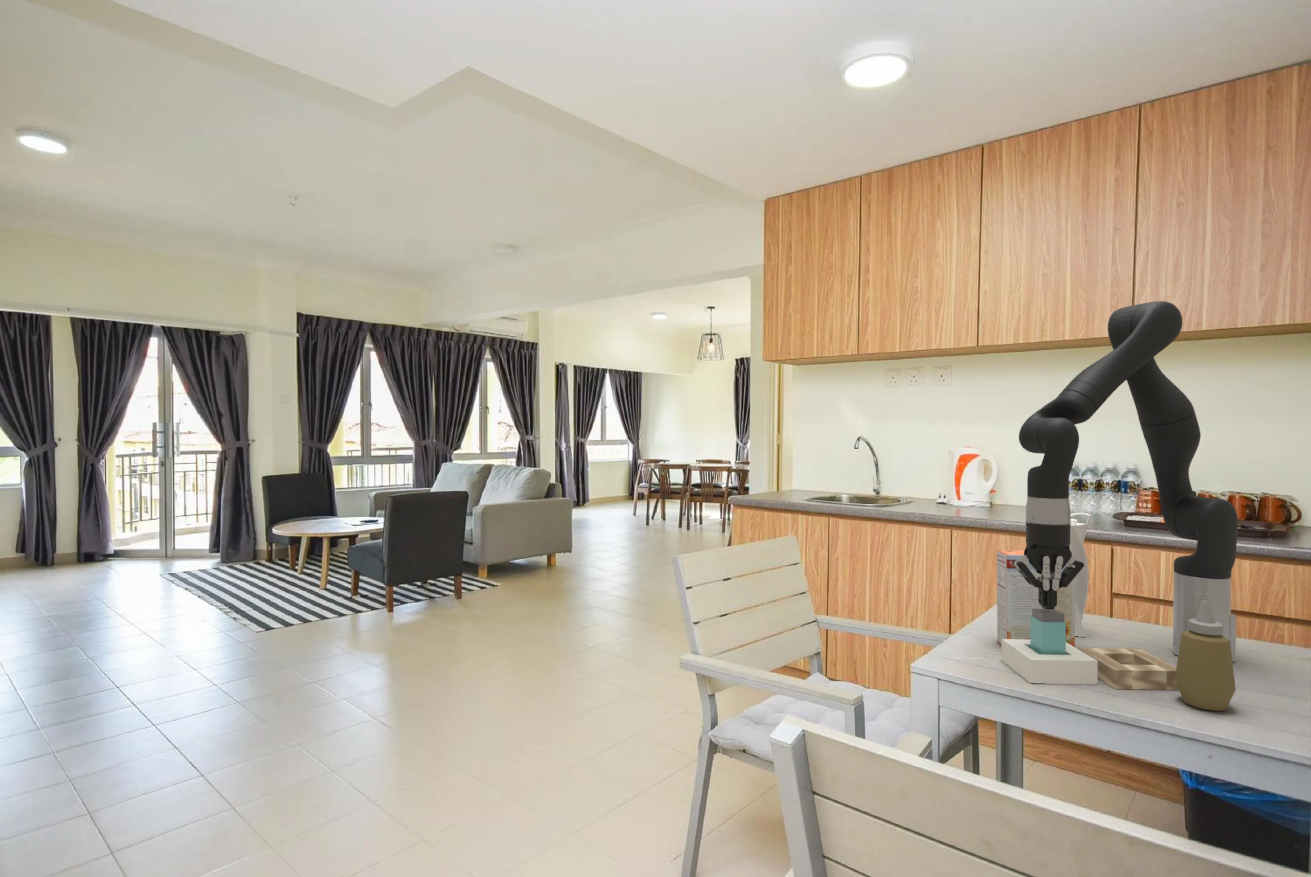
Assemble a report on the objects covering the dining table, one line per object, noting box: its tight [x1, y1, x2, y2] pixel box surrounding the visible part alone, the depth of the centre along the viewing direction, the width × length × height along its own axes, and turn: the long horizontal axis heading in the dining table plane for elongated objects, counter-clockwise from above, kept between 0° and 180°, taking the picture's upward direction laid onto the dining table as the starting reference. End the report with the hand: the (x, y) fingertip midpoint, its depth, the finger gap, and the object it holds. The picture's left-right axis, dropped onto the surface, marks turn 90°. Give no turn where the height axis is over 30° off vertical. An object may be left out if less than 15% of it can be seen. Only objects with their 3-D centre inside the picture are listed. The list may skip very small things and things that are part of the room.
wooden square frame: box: [1077, 647, 1180, 691], centre depth 128 cm, size 12×12×4 cm
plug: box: [1030, 609, 1066, 655], centre depth 130 cm, size 4×4×12 cm
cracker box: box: [996, 549, 1076, 648], centre depth 145 cm, size 14×6×21 cm, turn 84°
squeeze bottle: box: [1175, 600, 1237, 712], centre depth 115 cm, size 8×8×18 cm
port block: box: [1001, 639, 1098, 686], centre depth 130 cm, size 12×12×5 cm
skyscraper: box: [1069, 512, 1092, 638], centre depth 154 cm, size 8×8×28 cm
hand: (1047, 608), depth 130 cm, fingers closed
